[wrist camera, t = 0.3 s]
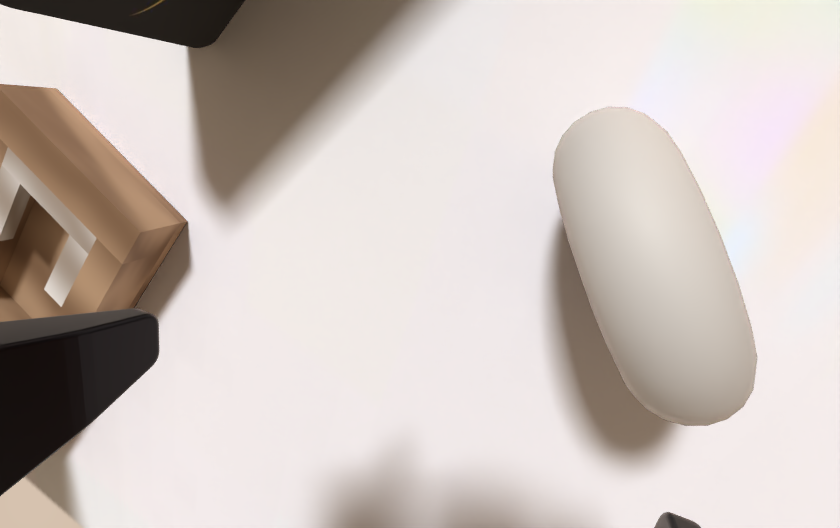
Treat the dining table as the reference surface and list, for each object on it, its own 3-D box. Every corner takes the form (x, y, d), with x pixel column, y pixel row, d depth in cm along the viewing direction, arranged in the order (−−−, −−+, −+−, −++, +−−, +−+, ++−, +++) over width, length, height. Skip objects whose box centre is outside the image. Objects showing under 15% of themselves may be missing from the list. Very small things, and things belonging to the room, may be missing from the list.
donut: (544, 134, 19) (518, 139, 10) (630, 96, 18) (690, 61, 9) (625, 346, 20) (666, 520, 11) (710, 325, 19) (836, 503, 10)
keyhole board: (54, 435, 36) (10, 461, 33) (-40, 337, 37) (-91, 354, 34) (187, 221, 26) (140, 232, 23) (56, 88, 27) (-6, 83, 24)
